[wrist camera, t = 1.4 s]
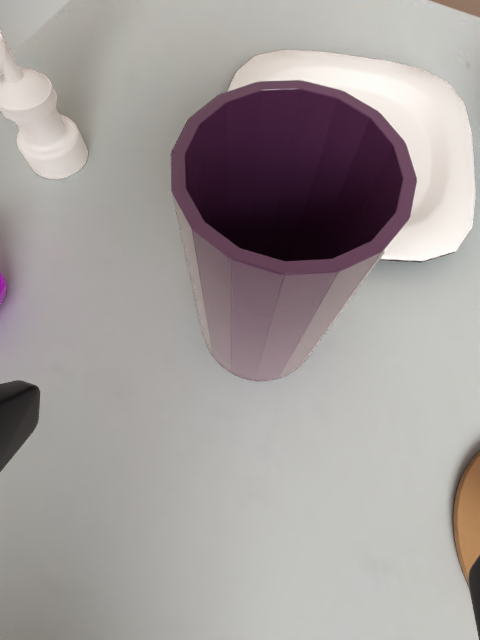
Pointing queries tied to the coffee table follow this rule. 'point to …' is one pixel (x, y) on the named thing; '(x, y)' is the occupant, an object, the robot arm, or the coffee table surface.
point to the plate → (414, 128)
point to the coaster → (468, 516)
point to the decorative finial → (39, 120)
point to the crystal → (2, 289)
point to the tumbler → (284, 215)
